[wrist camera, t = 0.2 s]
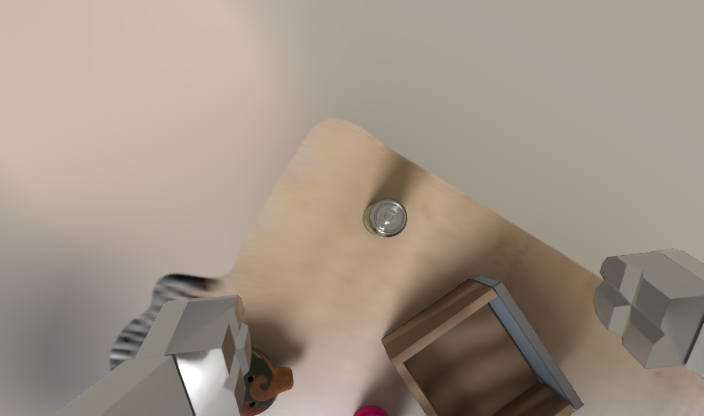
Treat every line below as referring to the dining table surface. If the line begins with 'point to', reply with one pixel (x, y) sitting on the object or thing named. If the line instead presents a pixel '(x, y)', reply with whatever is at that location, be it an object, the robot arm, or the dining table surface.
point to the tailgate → (529, 342)
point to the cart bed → (468, 361)
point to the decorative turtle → (263, 384)
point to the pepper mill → (370, 411)
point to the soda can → (385, 218)
